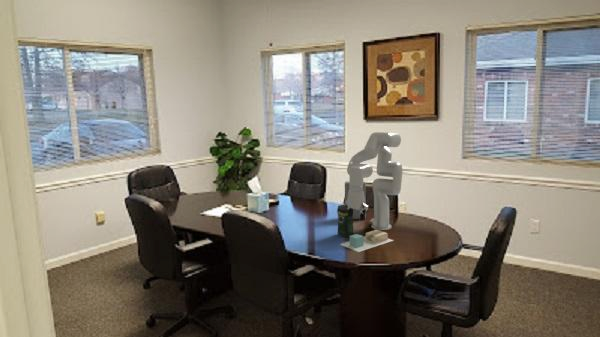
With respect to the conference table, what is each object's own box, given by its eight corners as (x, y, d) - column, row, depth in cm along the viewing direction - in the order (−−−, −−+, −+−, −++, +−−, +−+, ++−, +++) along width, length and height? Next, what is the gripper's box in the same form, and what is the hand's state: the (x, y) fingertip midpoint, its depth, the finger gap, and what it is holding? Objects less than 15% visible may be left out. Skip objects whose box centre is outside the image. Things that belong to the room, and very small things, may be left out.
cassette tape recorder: (365, 217, 311) (365, 181, 306) (365, 219, 305) (365, 183, 300) (345, 216, 313) (345, 181, 309) (344, 219, 307) (344, 183, 303)
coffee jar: (355, 235, 273) (355, 206, 270) (346, 238, 269) (345, 208, 265) (345, 231, 281) (344, 202, 278) (335, 234, 276) (334, 205, 273)
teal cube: (349, 245, 256) (349, 236, 255) (356, 243, 260) (356, 233, 259) (356, 247, 252) (356, 238, 251) (363, 245, 255) (363, 236, 254)
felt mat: (339, 244, 259) (339, 244, 259) (373, 234, 275) (373, 233, 275) (358, 252, 246) (358, 251, 246) (393, 241, 262) (393, 240, 262)
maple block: (365, 239, 265) (365, 232, 265) (376, 236, 271) (376, 229, 270) (376, 243, 258) (376, 236, 257) (387, 239, 263) (387, 233, 263)
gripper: (340, 186, 254) (341, 216, 257) (362, 192, 241) (362, 223, 244) (350, 184, 259) (350, 213, 262) (372, 189, 245) (372, 220, 248)
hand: (356, 218), depth 253 cm, fingers open, 9 cm apart
